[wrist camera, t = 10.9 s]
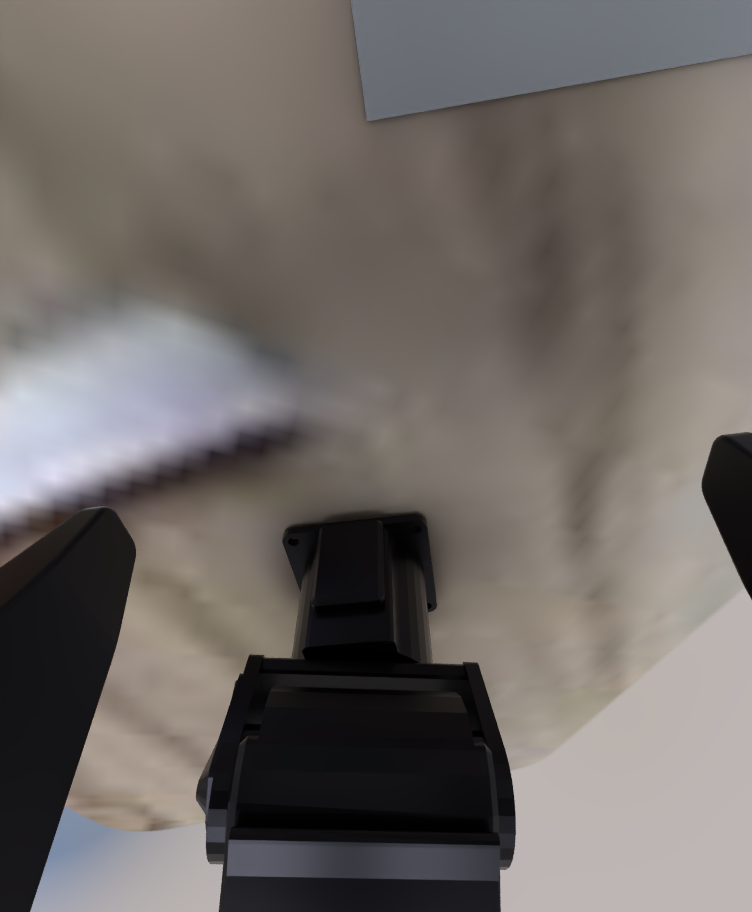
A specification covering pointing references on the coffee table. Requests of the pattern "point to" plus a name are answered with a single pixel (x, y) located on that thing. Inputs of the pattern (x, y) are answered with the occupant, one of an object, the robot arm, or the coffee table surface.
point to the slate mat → (529, 45)
